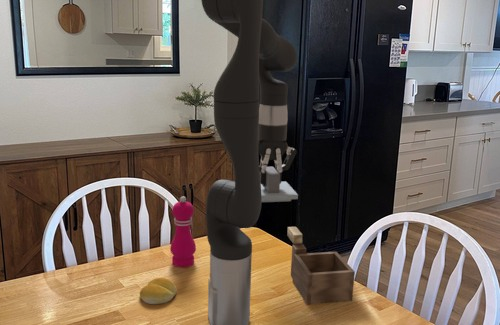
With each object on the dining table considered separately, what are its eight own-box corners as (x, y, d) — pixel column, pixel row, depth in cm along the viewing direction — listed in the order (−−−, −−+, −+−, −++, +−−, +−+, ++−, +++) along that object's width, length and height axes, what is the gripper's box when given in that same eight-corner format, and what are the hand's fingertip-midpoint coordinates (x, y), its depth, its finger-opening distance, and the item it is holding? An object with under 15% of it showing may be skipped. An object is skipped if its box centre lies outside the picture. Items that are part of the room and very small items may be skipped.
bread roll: (134, 301, 121) (133, 287, 120) (153, 285, 129) (153, 271, 128) (163, 309, 118) (163, 294, 117) (181, 292, 126) (181, 277, 125)
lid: (252, 204, 126) (253, 177, 124) (244, 190, 138) (244, 165, 136) (297, 202, 128) (299, 176, 127) (285, 188, 140) (286, 164, 138)
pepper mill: (191, 269, 138) (191, 201, 133) (166, 266, 139) (166, 199, 134) (198, 258, 145) (199, 193, 140) (175, 255, 146) (175, 191, 141)
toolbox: (306, 304, 121) (308, 270, 119) (288, 275, 136) (290, 244, 134) (352, 300, 124) (355, 267, 122) (329, 272, 139) (332, 242, 136)
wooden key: (293, 243, 134) (294, 235, 133) (287, 235, 140) (287, 227, 139) (301, 243, 134) (302, 234, 134) (295, 234, 140) (295, 226, 139)
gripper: (294, 119, 133) (291, 180, 137) (243, 119, 130) (242, 182, 134) (302, 124, 126) (299, 188, 130) (248, 124, 123) (247, 190, 127)
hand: (270, 185), depth 132 cm, fingers closed on lid, 3 cm apart
